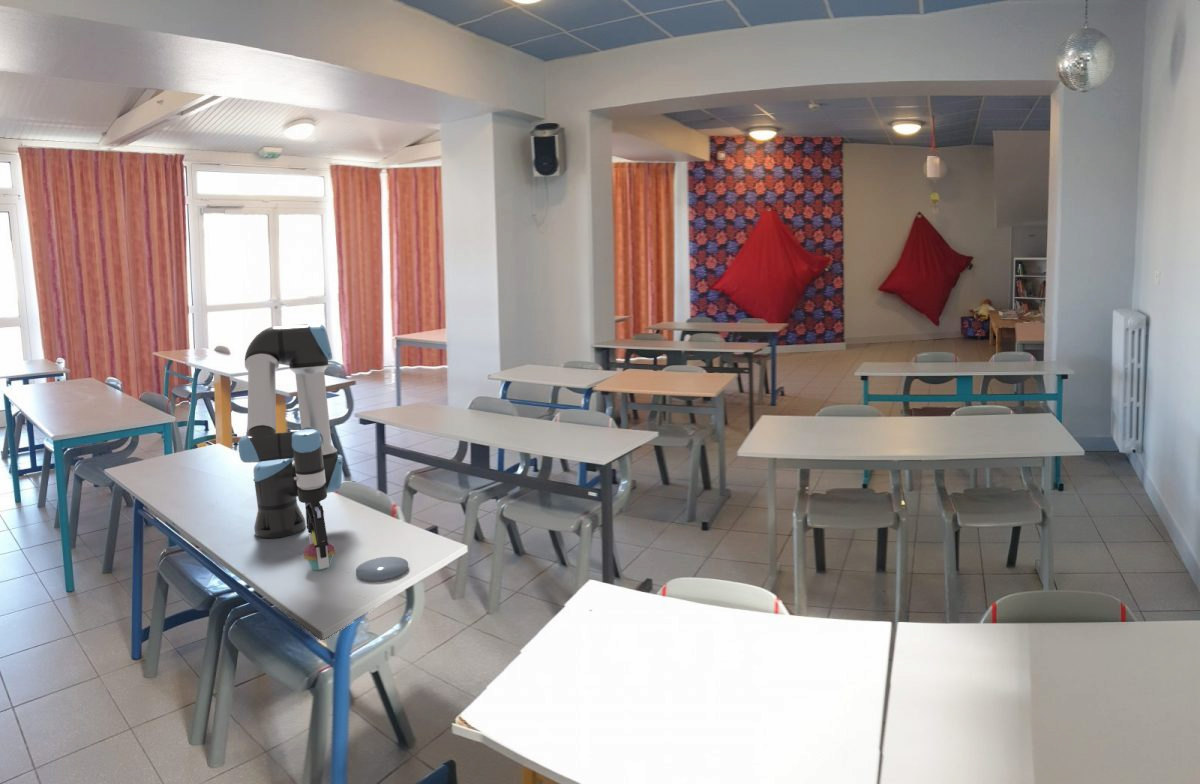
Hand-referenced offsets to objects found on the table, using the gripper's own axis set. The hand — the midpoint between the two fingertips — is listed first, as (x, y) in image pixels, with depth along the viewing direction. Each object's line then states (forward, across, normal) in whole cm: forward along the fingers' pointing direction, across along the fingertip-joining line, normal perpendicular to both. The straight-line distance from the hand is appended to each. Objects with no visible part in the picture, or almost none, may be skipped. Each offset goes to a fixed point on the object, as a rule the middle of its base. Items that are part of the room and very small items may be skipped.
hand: (320, 561), depth 225 cm
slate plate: (+2, +13, +14) cm, 19 cm away
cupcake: (+2, 0, 0) cm, 2 cm away
